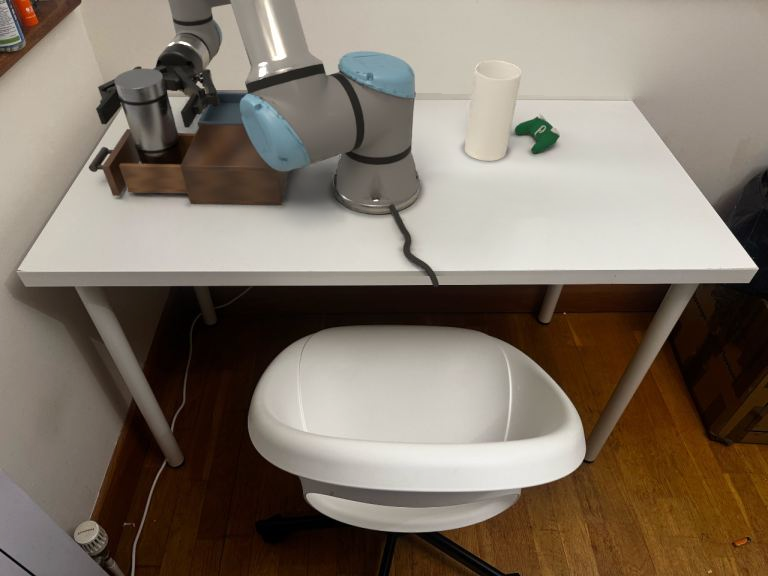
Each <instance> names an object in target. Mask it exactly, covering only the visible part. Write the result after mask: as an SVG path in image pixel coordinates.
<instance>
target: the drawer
mask: <svg viewBox="0 0 768 576" xmlns="http://www.w3.org/2000/svg"><path fill="white" fill-rule="evenodd" d="M195 134H196V132H178V135H179V138H180V143H181V147H182V151H183V154H184V157H185V155H186V153H187V151H188V149H189V147H190V145H191V143H192V141H193V138H194V136H195ZM88 170H89V171H91V172H93V173H96V172H98V170H100V171H103V173H104V176H105V178H106V181H107V184H108V187H109V189H110V192H111V195H112V196H113V197H120V196H121V195H122V193H123V192H124V190H125V188H126V189H127V192H128V193H150V194H188V192H187V188H186V185H185V181H184V177H183V174H182V169H181V166H180V164H141V162H140V159H139V155H138V152H137V149H136V147H135V144H134V140H133V137H132V134H131V131H130V128H126V130H125V131H124V132H123V134H122V136H121V137H120V138H119V140H118V142H117V143H116V144H115V146H114V148H113V149H109V148H108V147H107V146H103V147H101V148H100V149H99V150H98V153H97V154H96V155H95V157H94V158H93V159H92V161H91V162H90V164H89V165H88Z"/></svg>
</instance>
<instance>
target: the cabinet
mask: <svg viewBox="0 0 768 576" xmlns="http://www.w3.org/2000/svg"><path fill="white" fill-rule="evenodd" d="M195 133H196V134H195V136H194V138H193V141H192V143H191V145H190V147H189V149H188V151H187V153H186V155H185V157H184V159H183V161H182V163H181V165H180V166H181V169H182V174H183V177H184V181H185V185H186V188H187V192H188V193H187V196H188V200H189V203H190V204H193V205H233V206H234V205H236V206H237V205H239V206H240V205H241V206H242V205H243V206H282V204H283V200H284V196H285V191H286V187H287V183H288V179H289V178H288V177H289V174H290V170H289V171H278V170H275V169H273V168H272V167H270V166H269V165H268V164H267V163H266V162H265V161H264V160H263V158H262V157H261V156H260V155H259V153H258V152H257V150H256V149H255V147H254V145H253V144H252V142H251V140H250V138H249V136H248V134H247V131H246V129H245V127H244V125H209V124H200V126H199V127H198V128H197V130H196V132H195Z"/></svg>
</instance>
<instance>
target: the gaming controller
mask: <svg viewBox="0 0 768 576" xmlns="http://www.w3.org/2000/svg"><path fill="white" fill-rule="evenodd" d="M514 133H515V134H516V135H518V136H519V135H520V136H521V135H527V134H531V136H532V137H533V138H534V139H535V140H536V142H535V143H534V144H533V146H532V147H531V149H530V151H531V152H532V153H534V154H537V153H540V152H543V151H546V150H547V149H549V148H550V147H552V146H553V145H554V144H556V143H557V141H558V140H559V138H560V132H559V131H558V130H557V128H555V127H554V126H553V125H552V124H551V123H550V122H548V121H547V119H546V118H545V117H544V116H543V115H542V114H540V113H539V114H538V115H537V116H535V117H534V118H532V119H529V120H526V121H523V122H521V123H518V124H517V125H515V128H514Z"/></svg>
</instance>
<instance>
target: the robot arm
mask: <svg viewBox="0 0 768 576" xmlns="http://www.w3.org/2000/svg"><path fill="white" fill-rule="evenodd" d="M167 2H168V5H169V9H170V12H171V16H172V24H173V27H174V31H175V36H174V37H173V39H172V40H171V41H170V42H169V43H168V44H167V46H166V47H165V48H164V49H163V51H162V52H161V53H160V55H159V56H158V57H157V60H156V63H155V67H153V69H154V70H157V71H159V72H161V73H162V75H163V79H164V82H165V86H166V89H167V91H171V92H178V91H179V92H181V93H182V94H184V95H185V96H188V97H189V98H188V100H187V101H186V103H185V104H184V106H183V108H182V109H181V111H180V115H181V119H182V123H183V127H184V128H186V129H189V128H191V125H192V124H193V122H194V121H195V119H196V117H197V116H198V115H202V113H203V111H204V109H205V108H206V107H208V105H210V104H212V106H214V107H217V106H219V105H220V104H219V99H218V94H217V92H218V91H217V89H216V86H215V84H214V83H213V77H212V72H211V69H208V66H209V65H210V63H211V62H212V61H213V59H214V57H215V56H217V55H218V53H219V50H220V49H221V48H220V47H221V45H222V44H223V33H222V32H223V31H222V29H221V27H220V26H219V24H218V22H217V21H215V19H214V16H213V10H212V9H213V8H216V7H222V6H228V5H231V8H232V11H233V14H234V18H235V21H236V25H237V27H238V30H239V33H240V37H241V40H242V43H243V46H244V49H245V52H246V55H247V59H248V62H249V65H250V69H249V73H248V74H247V77H246V79H245V81H244V84H245V88H246V92H247V93H248V94H247V95H245V96H244V97H243V98H242V99H241V102H240V111H241V114H242V121H243V124H244V127H245V129H246V131H247V134H248V136H249V138H250V140H251V142H252V144H253V145H254V147H255V149H256V150H257V152H258V153H259V155H260V156H261V157H262V158H263V160H264V161H265V162H266V163H267V164H268V165H269V166H270V167H272V168H273V169H275V170H278V171H289V172H290V171H292V170H296V169H301V168H308V167H309V166H310V165H312V164H316V163H319V162H322V161H325V160H327V159H332V158H334V157H337V156H340V157H339V160H338V164H337V168H336V170H335V172H334V174H333V171H332V172H331V174H332V177H333V178H332V182H333V183H332V184H333V185H332V186H333V193H334V196H335V198H336V199H337V200H338V202H339V203H340V204H342V205H344V207H346V208H347V209H350V210H352V211H355V212H358V213H363V214H369V215H385V214H392V216H393V218H394V220H395V222H396V224H397V227H398V228H399V230H400V232H401V234H402V235H403V237H404V243H403V246H402V248H403V249H402V251H403V254H404V256H405V257H406V258H407V259H408V260H409V261H410V262H412V263H413V264H415V265H416V266H417V267H419V268H421V269H422V270H424V272H425V273H426V274H427V275H428V277H429V279H430V281H431V285H432V286H433V287H435V288H437V287H439V286H440V283H439V280H438V277H437V275H436V273H435V271H434V270H433V269H432V267H431V266H430V265H429V264H427V262H425V261H423V260H422V259H421V258H418V257H417V256H415V255H414V254H413V253H412V252H411V250H410V247H411V244H412V236H411V234H410V232H409V230H408V229H407V227H406V225H405V223H404V222H403V219H402V217H401V215H400V213H399V212H400V211H402V210H404V209H406V208H408V207H409V206H411V205H412V204H413V203H414V202H415V201H416V200H417V199H418V196H419V194H420V185H421V184H420V183H421V180H420V175H419V173H418V171H417V168H416V162H415V159H414V156H413V152H412V145H413V143H412V141H413V127H414V109H415V99H416V95H417V93H416V76H415V72H414V69H413V68H412V66H411V65H410V64H409V63H408V62H406V61H405V60H404V59H401V58H400V57H397V56H396V55H395V56H394V55H391V54H387V53H385V52H380V51H379V52H378V51H371V50H370V51H369V50H362V51H361V50H360V51H359V50H358V51H352V52H347V53H345V54H344V55H343V56H341V57H340V59H339V60H338V61H339V62H338V64H337V69H338V72H334V73H331V74H328V75H327V73H326V69H325V66H324V62H323V60H321V59H319V58H318V57H316V56H314V54H312V53H311V52H310V51H309V46H308V44H307V39H306V36H305V33H304V29H303V25H302V21H301V18H300V15H299V12H298V7H297V3H296V0H167ZM134 69H143V67H142V66H139V65H138V66H135V67H134V68H132V70H134ZM114 80H115V78H114V79H111V80H108V81H107V82H105V83H103V84H101V85H99V86H98V87H97V89H98V92H99V95H100V97H101V99H100V100H99V105H98V106H97V107H96V108H95V110H96V112H97V115H98V118H99V121H100V124H101V125H108V124H109V122H110V121H111V119H112V118H113V117H114V116H115V114H116V113H117V112H118V111H119V110H120V108H121V107H122V104H121V101H120V99H119V94H118V91H117V88H116V85H115V82H114ZM198 82H199V83H200V84H201V85H202V88H201V86H199V85H198V84H197V83H198Z"/></svg>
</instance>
